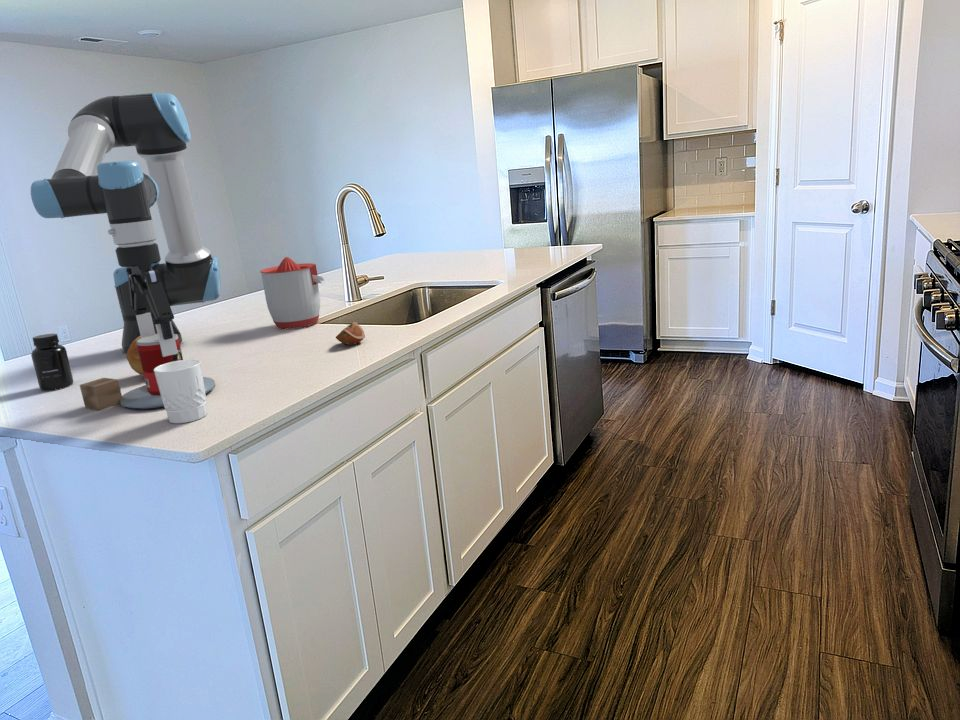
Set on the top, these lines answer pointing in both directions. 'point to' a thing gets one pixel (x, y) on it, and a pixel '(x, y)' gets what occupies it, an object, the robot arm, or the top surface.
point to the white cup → (182, 390)
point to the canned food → (154, 359)
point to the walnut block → (101, 393)
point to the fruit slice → (351, 334)
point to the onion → (135, 357)
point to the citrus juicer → (292, 294)
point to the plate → (152, 396)
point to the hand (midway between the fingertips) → (160, 349)
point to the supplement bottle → (51, 363)
